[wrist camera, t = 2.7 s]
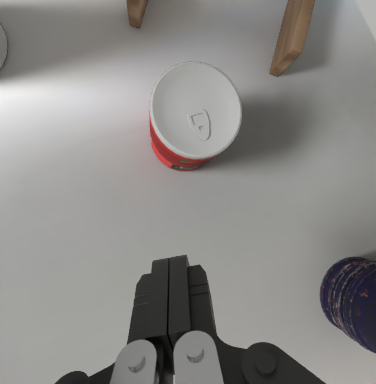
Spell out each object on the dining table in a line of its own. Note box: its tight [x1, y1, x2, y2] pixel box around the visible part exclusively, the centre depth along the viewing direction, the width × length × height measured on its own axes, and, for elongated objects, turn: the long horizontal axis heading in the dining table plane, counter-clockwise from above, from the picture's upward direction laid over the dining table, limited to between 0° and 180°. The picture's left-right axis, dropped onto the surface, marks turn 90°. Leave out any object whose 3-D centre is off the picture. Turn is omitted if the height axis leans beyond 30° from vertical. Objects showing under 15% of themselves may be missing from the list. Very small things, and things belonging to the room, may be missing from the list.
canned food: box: [149, 61, 242, 171], centre depth 27 cm, size 8×8×11 cm
